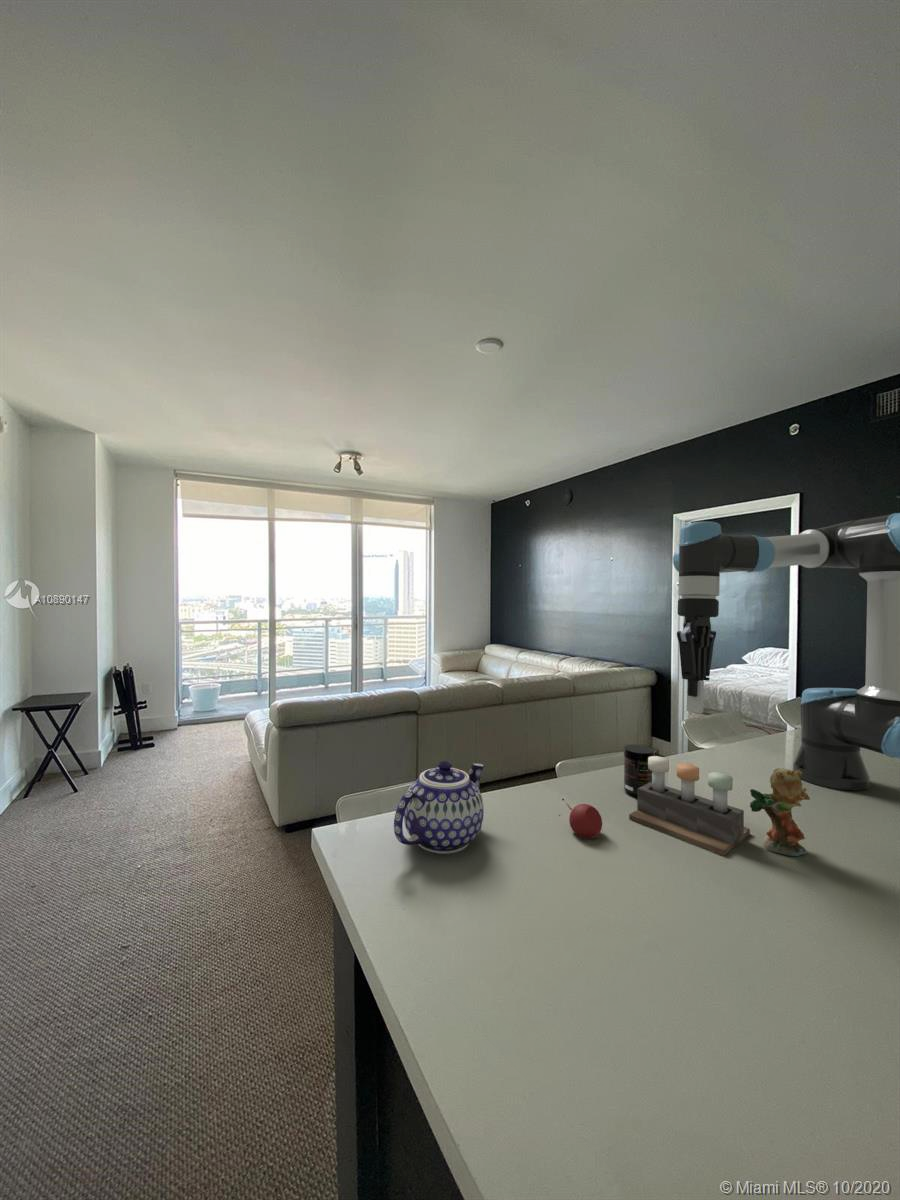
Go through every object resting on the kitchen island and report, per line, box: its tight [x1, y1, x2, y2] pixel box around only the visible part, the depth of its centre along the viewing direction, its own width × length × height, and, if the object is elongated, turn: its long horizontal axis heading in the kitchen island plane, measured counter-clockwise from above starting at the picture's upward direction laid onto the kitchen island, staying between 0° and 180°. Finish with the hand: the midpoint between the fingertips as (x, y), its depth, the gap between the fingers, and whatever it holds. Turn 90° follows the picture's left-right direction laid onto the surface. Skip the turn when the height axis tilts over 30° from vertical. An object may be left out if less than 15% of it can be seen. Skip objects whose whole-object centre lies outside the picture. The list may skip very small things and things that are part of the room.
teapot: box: [393, 760, 485, 855], centre depth 88 cm, size 25×15×15 cm, turn 138°
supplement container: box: [623, 744, 656, 798], centre depth 110 cm, size 7×7×10 cm
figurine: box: [749, 767, 811, 857], centre depth 86 cm, size 9×8×15 cm
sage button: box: [707, 771, 733, 813], centre depth 89 cm, size 4×4×6 cm
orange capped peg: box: [676, 763, 700, 802], centre depth 94 cm, size 4×4×6 cm
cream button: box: [648, 755, 670, 793], centre depth 99 cm, size 4×4×6 cm
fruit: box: [561, 798, 603, 839], centre depth 92 cm, size 6×6×8 cm
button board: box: [628, 782, 751, 857], centre depth 94 cm, size 12×18×6 cm
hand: (694, 711), depth 97 cm, fingers closed
